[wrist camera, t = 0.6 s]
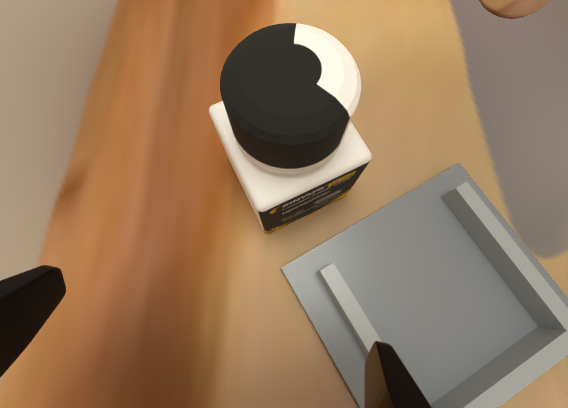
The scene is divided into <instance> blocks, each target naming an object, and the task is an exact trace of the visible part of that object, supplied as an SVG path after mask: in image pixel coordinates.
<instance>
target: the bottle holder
mask: <svg viewBox="0 0 568 408" xmlns="http://www.w3.org/2000/svg"><path fill="white" fill-rule="evenodd" d="M281 269H282V271H283V273H284V275H285V276H286V278H287V280H288V282H289V283H290V285H291V287H292V289H293V290H294V292H295V294H296V296H297V298H298V299H299V301H300V303H301V305H302V306H303V308H304V310H305V312H306V313H307V315H308V317H309V319H310V321H311V322H312V324H313V326H314V328H315V329H316V331H317V333H318V335H319V336H320V338H321V340H322V342H323V344H324V345H325V347H326V349H327V351H328V352H329V354H330V356H331V358H332V359H333V361H334V363H335V365H336V366H337V368H338V370H339V372H340V374H341V375H342V377H343V379H344V381H345V382H346V384H347V386H348V388H349V389H350V391H351V393H352V395H353V397H354V398H355V400H356V402H357V404H358V405H359V407H360V408H364V369H365V361H366V358H367V356H368V354H369V351H370V349H371V347H372V345H373V343H374V342H375V341H380V342H384V343H388V344H390V345H391V346H392V347H393V348H394V350H395V351H396V353H397V354H398V356H399V358H400V359H401V361H402V362H403V364H404V365H405V367H406V368H407V370H408V371H409V373H410V374H411V376H412V378H413V379H414V381H415V382H416V384H417V385H418V387H419V388H420V390H421V391H422V393H423V394H424V396H425V398H426V399H427V401H428V402H429V404H430V405H431V407H432V408H498V407H500V406H501V405H502V404H504V403H505V402H506V401H508V400H509V399H510V398H512V397H513V396H514V395H516V394H517V393H518V392H519V391H521V390H522V389H523V388H525V387H526V386H527V385H529V384H530V383H531V382H533V381H534V380H535V379H537V378H538V377H539V376H541V375H542V374H543V373H544V372H546V371H547V370H548V369H550V368H551V367H552V366H554V365H555V364H556V363H558V362H559V361H560V360H562V359H563V358H564V357H566V356H567V355H568V298H567V297H566V295H565V294H564V293H563V292H562V290H561V289H560V288H559V287H558V285H557V284H556V283H555V282H554V280H553V279H552V278H551V277H550V275H549V274H548V273H547V272H546V270H545V269H544V268H543V267H542V265H541V264H540V263H539V262H538V260H537V259H536V258H535V257H534V255H533V254H532V253H531V252H530V250H529V249H528V248H527V247H526V245H525V244H524V243H523V242H522V240H521V239H520V238H519V237H518V235H517V234H516V233H515V232H514V230H513V229H512V228H511V227H510V225H509V224H508V223H507V222H506V220H505V219H504V218H503V217H502V215H501V214H500V213H499V212H498V210H497V209H496V208H495V207H494V205H493V204H492V203H491V202H490V201H489V199H488V198H487V197H486V196H485V194H484V193H483V192H482V191H481V189H480V188H479V187H478V186H477V184H476V183H475V182H474V181H473V179H472V178H471V177H470V176H469V174H468V173H467V172H466V171H465V169H464V168H463V167H462V166H461V164H460V163H457V164H455V165H454V166H452V167H450V168H449V169H447V170H445V171H444V172H442V173H440V174H439V175H437V176H435V177H434V178H432V179H430V180H428V181H427V182H425V183H423V184H422V185H420V186H418V187H417V188H415V189H413V190H412V191H410V192H408V193H406V194H405V195H403V196H401V197H400V198H398V199H396V200H395V201H393V202H391V203H390V204H388V205H386V206H385V207H383V208H381V209H379V210H378V211H376V212H374V213H373V214H371V215H369V216H368V217H366V218H364V219H363V220H361V221H359V222H358V223H356V224H354V225H352V226H351V227H349V228H347V229H346V230H344V231H342V232H341V233H339V234H337V235H336V236H334V237H332V238H331V239H329V240H327V241H325V242H324V243H322V244H320V245H319V246H317V247H315V248H314V249H312V250H310V251H309V252H307V253H305V254H303V255H302V256H300V257H298V258H297V259H295V260H293V261H292V262H290V263H288V264H287V265H285V266H283V267H282V268H281Z"/></svg>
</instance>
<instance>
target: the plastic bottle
mask: <svg viewBox="0 0 568 408" xmlns="http://www.w3.org/2000/svg"><path fill="white" fill-rule="evenodd" d="M549 1H550V0H480V2H481V4H482V5H483V7H484V8H485V9H487V10H488V11H489V12H491V13H492V14H494V15H496V16H499V17H503V18H509V19H514V18H520V17H524V16H526V15H529V14H531V13H534V12H536V11H538V10H539V9H540V8H542V7H543V6H544V5H545V4H546V3H547V2H549Z"/></svg>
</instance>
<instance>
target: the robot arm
mask: <svg viewBox="0 0 568 408" xmlns="http://www.w3.org/2000/svg"><path fill="white" fill-rule="evenodd" d="M65 293H66V286H65V282H64V278H63V275H62V271H61V270H60V269H59V268H57V267H53V266H49V265H43V266H39V267H37V268H34V269H31V270H29V271H26V272H23V273H20V274H18V275H15V276H12V277H9V278H7V279H4V280H1V281H0V377H1V376H2V375H3V374H4V373H5V372H6V370H7V369H8V368H9V367H10V366H11V365H12V364H13V362H14V361H15V360H16V359H17V358H18V357H19V356H20V354H21V353H22V352H23V351H24V350H25V348H26V347H27V346H28V345H29V343H30V342H31V341H32V339H33V338H34V337H35V335H36V334H37V333H38V331H39V330H40V329H41V327H42V326H43V325H44V323H45V322H46V320H47V319H48V318H49V316H50V315H51V314H52V312H53V311H54V310H55V308H56V307H57V305H58V304H59V303H60V301H61V300H62V299H63V297H64V295H65ZM364 408H432V407H431V405H430V404H429V402H428V401H427V399H426V398H425V396H424V394H423V393H422V391H421V390H420V388H419V387H418V385H417V384H416V382H415V381H414V379H413V378H412V376H411V374H410V373H409V371H408V370H407V368H406V367H405V365H404V364H403V362H402V361H401V359H400V358H399V356H398V354H397V353H396V351H395V350H394V348H393V347H392V346H391V345H390V344H388V343H384V342H380V341H375V342H374V343H373V345H372V347H371V349H370V351H369V354H368V356H367V358H366V361H365V369H364Z"/></svg>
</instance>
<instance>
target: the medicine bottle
mask: <svg viewBox="0 0 568 408" xmlns="http://www.w3.org/2000/svg"><path fill="white" fill-rule="evenodd" d="M220 91H221V96H222V100H223V101H221V102H219V103H217V104H214V105H212V106H211V107H210V109H209V113H210V116H211V118H212V121H213V123H214V125H215V128H216V130H217V132H218V135H219V137H220V140H221V142H222V144H223V147H224V149H225V151H226V154H227V156H228V159H229V161H230V163H231V165H232V167H233V169H234V171H235V173H236V175H237V177H238V179H239V181H240V183H241V186H242V188H243V190H244V192H245V194H246V196H247V198H248V200H249V202H250V204H251V206H252V208H253V210H254V212H255V215H256V217H257V219H258V221H259V223H260V225H261V227H262V229H263V231H264V232H265V233H270V232H272V231H274V230H276V229H278V228H280V227H283V226H285V225H287V224H289V223H291V222H293V221H295V220H297V219H299V218H301V217H303V216H305V215H307V214H309V213H311V212H313V211H315V210H317V209H320V208H322V207H324V206H326V205H328V204H330V203H332V202H334V201H336V200H338V199H340V198H342V197H344V196H346V195H347V193H348V192H349V191H350V189H351V188H352V186H353V185H354V183H355V182H356V180H357V179H358V178H359V176H360V175H361V173H362V172H363V170H364V169H365V167H366V166H367V165H368V163H369V162H370V160H371V153H370V151H369V149H368V148H367V146H366V145H365V143H364V141H363V140H362V138H361V137H360V135H359V134H358V132H357V130H356V129H355V127H354V126H353V124H352V122H351V119H352V116H353V114H354V111H355V109H356V106H357V104H358V101H359V97H360V92H361V79H360V74H359V70H358V67H357V65H356V62H355V60H354V59H353V57H352V56H351V54H350V53H349V52H348V50H347V49H346V48H345V47H344V46H343V45H342V44H341V43H340V42H339V41H338V40H337V39H336V38H334V37H333V36H331V35H330V34H328V33H326V32H325V31H323V30H320V29H318V28H315V27H312V26H308V25H304V24H297V23H285V24H277V25H272V26H268V27H265V28H262V29H260V30H258V31H256V32H254V33H252V34H250V35H249V36H247V37H246V38H245V39H244V40H242V41H241V42H240V43H239V44H238V45H237V46H236V47H235V48H234V49H233V50H232V52H231V53H230V55H229V56H228V57H227V59H226V62H225V64H224V66H223V69H222V72H221V78H220Z"/></svg>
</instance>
